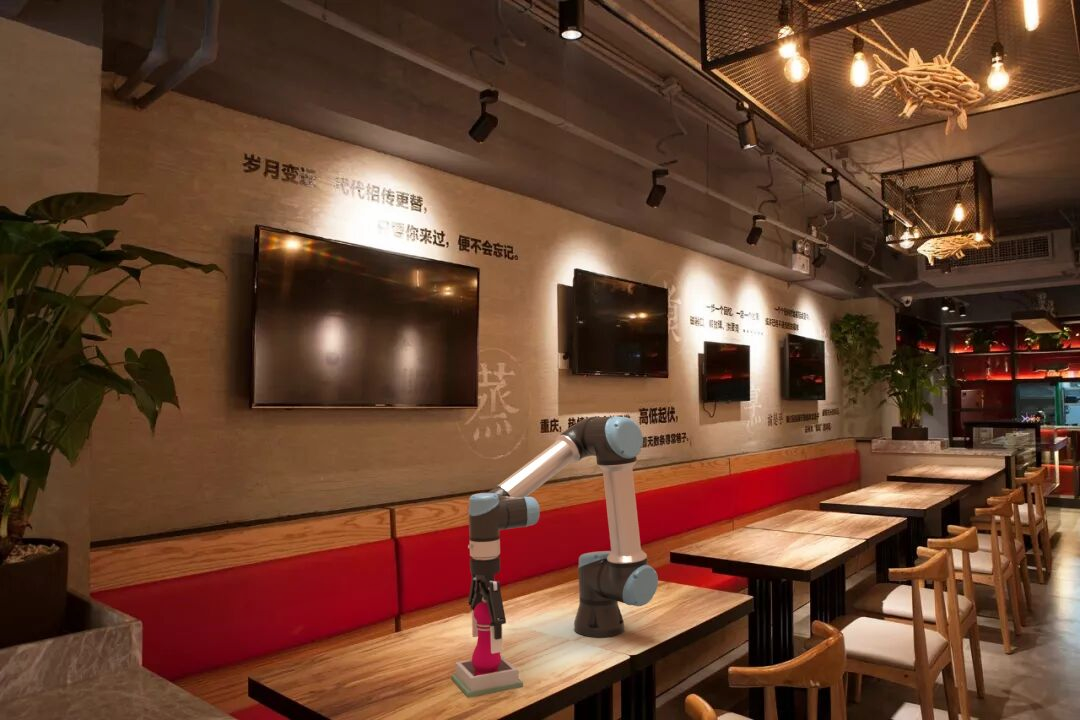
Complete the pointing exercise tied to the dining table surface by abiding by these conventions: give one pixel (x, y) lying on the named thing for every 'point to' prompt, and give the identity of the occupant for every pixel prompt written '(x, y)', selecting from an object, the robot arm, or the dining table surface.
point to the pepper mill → (484, 643)
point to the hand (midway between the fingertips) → (487, 644)
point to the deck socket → (485, 678)
